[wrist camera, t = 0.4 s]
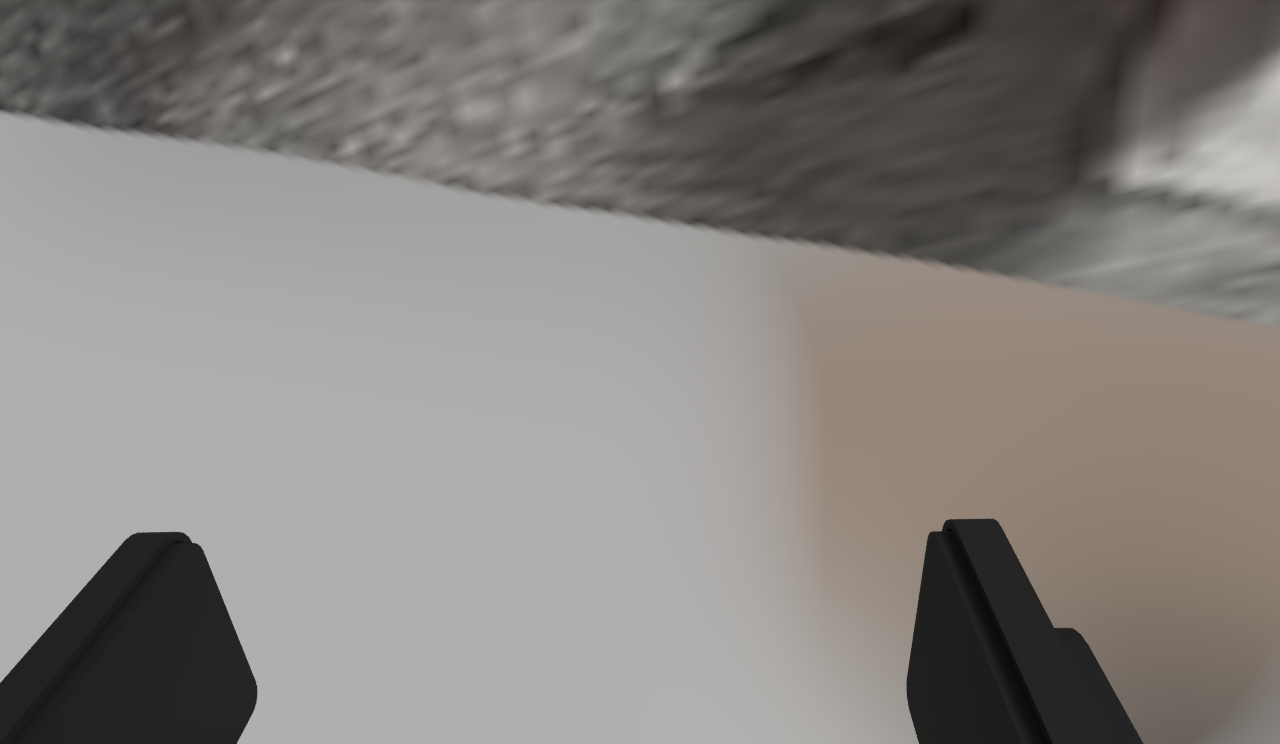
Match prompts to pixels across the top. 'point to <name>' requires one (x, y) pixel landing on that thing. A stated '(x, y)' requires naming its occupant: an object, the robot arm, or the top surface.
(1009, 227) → the top surface
